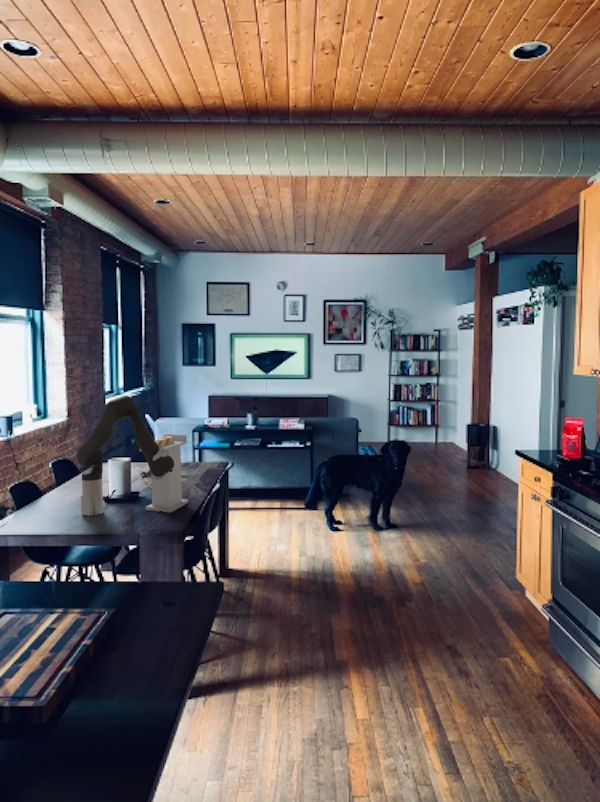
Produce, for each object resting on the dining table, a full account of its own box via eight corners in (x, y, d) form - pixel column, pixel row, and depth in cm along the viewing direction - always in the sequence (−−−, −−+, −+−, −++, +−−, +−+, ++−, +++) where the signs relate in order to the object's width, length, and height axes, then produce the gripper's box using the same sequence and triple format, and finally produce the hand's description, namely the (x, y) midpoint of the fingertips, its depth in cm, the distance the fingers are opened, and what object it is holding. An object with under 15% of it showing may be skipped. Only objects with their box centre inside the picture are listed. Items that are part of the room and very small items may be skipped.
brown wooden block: (146, 451, 283) (145, 445, 282) (139, 451, 284) (139, 444, 283) (173, 442, 307) (173, 436, 307) (167, 442, 308) (167, 436, 308)
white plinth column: (168, 513, 294) (166, 442, 290) (143, 511, 298) (141, 440, 294) (190, 501, 315) (188, 435, 311) (166, 499, 319) (164, 433, 315)
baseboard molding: (86, 499, 322) (110, 499, 323) (86, 494, 322) (109, 493, 323) (99, 485, 353) (120, 484, 354) (99, 480, 352) (120, 480, 354)
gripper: (172, 458, 278) (168, 463, 293) (140, 465, 273) (139, 469, 288) (175, 474, 277) (172, 478, 292) (144, 481, 272) (142, 485, 287)
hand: (155, 473), depth 290 cm, fingers open, 8 cm apart
